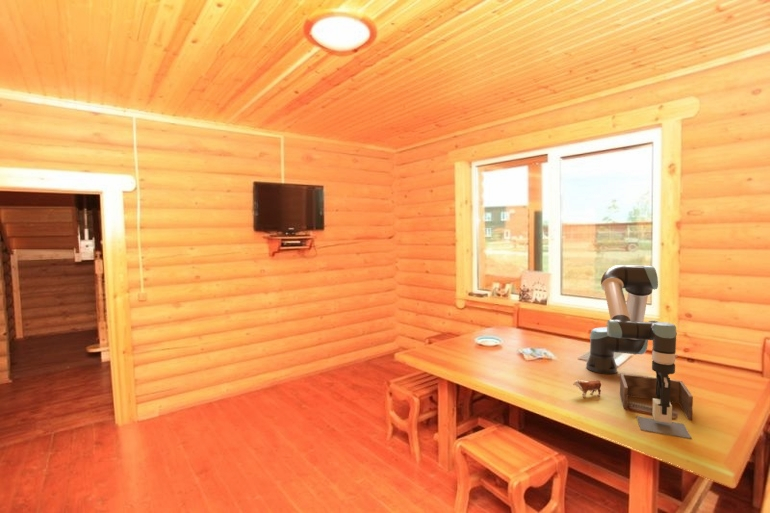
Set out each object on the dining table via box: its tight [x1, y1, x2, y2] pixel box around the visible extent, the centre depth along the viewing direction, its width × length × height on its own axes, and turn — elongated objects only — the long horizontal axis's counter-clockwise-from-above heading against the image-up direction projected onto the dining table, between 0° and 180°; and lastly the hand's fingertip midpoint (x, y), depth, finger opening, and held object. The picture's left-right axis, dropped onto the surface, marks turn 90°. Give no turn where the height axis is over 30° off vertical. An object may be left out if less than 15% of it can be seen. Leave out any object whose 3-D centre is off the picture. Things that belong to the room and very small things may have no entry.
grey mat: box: [636, 415, 692, 440], centre depth 155 cm, size 16×12×1 cm
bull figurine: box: [572, 379, 602, 399], centre depth 185 cm, size 4×13×8 cm, turn 95°
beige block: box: [651, 398, 673, 423], centre depth 156 cm, size 6×6×7 cm
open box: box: [619, 373, 694, 421], centre depth 173 cm, size 24×18×10 cm
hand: (661, 418), depth 156 cm, fingers closed on beige block, 5 cm apart
